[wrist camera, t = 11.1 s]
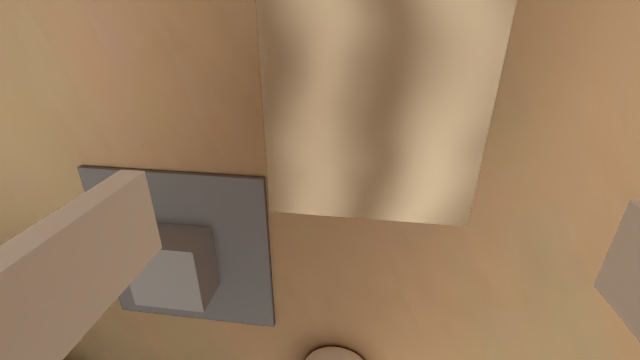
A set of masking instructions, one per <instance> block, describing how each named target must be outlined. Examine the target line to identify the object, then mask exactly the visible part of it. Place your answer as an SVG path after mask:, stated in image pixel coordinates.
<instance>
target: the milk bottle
mask: <svg viewBox="0 0 640 360" xmlns="http://www.w3.org/2000/svg"><path fill="white" fill-rule="evenodd" d="M306 360H363V359H362V358H361V357H360V356H359V355H357V354H356V353H354V352H352V351H350V350H348V349H345V348H341V347H323V348H320V349H317V350H315V351H313V352H312V353H311V354H309V356H308V357H307V358H306Z"/></svg>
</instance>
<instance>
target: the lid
mask: <svg viewBox="0 0 640 360" xmlns="http://www.w3.org/2000/svg"><path fill="white" fill-rule="evenodd" d="M255 3H256V17H257V32H258V47H259V62H260V77H261V92H262V107H263V122H264V137H265V152H266V167H267V181H268V196H269V211H270V212H282V213H295V214H309V215H322V216H335V217H349V218H362V219H375V220H389V221H402V222H415V223H429V224H442V225H455V226H468V223H469V218H470V213H471V209H472V204H473V200H474V195H475V190H476V186H477V181H478V177H479V172H480V168H481V163H482V158H483V154H484V149H485V145H486V140H487V136H488V131H489V126H490V122H491V117H492V113H493V108H494V104H495V99H496V94H497V90H498V85H499V81H500V76H501V72H502V67H503V62H504V58H505V53H506V49H507V44H508V39H509V35H510V30H511V26H512V21H513V17H514V12H515V7H516V3H517V0H255Z"/></svg>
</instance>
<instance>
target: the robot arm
mask: <svg viewBox="0 0 640 360" xmlns="http://www.w3.org/2000/svg"><path fill="white" fill-rule="evenodd" d="M161 248H162V245H161V240H160V236H159V231H158V227H157V223H156V218H155V214H154V209H153V205H152V200H151V196H150V192H149V187H148V183H147V178H146V174H145V171H136V170H119V171H118V172H116V173H115V174H113V175H111V176H110V177H108V178H107V179H105V180H103V181H102V182H100V183H99V184H97V185H95V186H94V187H92V188H91V189H89V190H87V191H86V192H84V193H83V194H81V195H80V196H78V197H76V198H75V199H73V200H72V201H70V202H68V203H67V204H65V205H64V206H62V207H60V208H59V209H57V210H56V211H54V212H52V213H51V214H49V215H48V216H46V217H45V218H43V219H41V220H40V221H38V222H37V223H35V224H33V225H32V226H30V227H29V228H27V229H25V230H24V231H22V232H21V233H19V234H17V235H16V236H14V237H13V238H11V239H10V240H8V241H6V242H5V243H3V244H2V245H0V360H63V359H64V358H65V357H66V356H67V354H68V353H69V352H70V351H71V350H72V349H73V348H74V347H75V345H76V344H77V343H78V342H79V341H80V340H81V339H82V338H83V336H84V335H85V334H86V333H87V332H88V331H89V330H90V329H91V327H92V326H93V325H94V324H95V323H96V322H97V321H98V320H99V318H100V317H101V316H102V315H103V314H104V313H105V312H106V310H107V309H108V308H109V307H110V306H111V305H112V304H113V303H114V301H115V300H116V299H117V298H118V297H119V296H120V295H121V294H122V292H123V291H124V290H125V289H126V288H127V287H128V286H129V285H130V283H131V282H132V281H133V280H134V279H135V278H136V277H137V276H138V274H139V273H140V272H141V271H142V270H143V269H144V268H145V267H146V265H147V264H148V263H149V262H150V261H151V260H152V259H153V258H154V256H155V255H156V254H157V253H158V252H159V251H160V250H161ZM594 286H595V288H596V289H597V290H598V291H599V292H600V294H601V295H602V296H603V297H604V299H605V300H606V301H607V302H608V304H609V305H610V306H611V307H612V308H613V310H614V311H615V312H616V313H617V315H618V316H619V317H620V318H621V319H622V321H623V322H624V323H625V324H626V326H627V327H628V328H629V329H630V331H631V332H632V333H633V334H634V335H635V337H636V338H637V339H638V340H639V342H640V201H632V200H630V201H629V204H628V206H627V208H626V211H625V213H624V215H623V218H622V220H621V222H620V225H619V227H618V229H617V232H616V234H615V236H614V238H613V241H612V243H611V245H610V248H609V250H608V252H607V255H606V257H605V259H604V262H603V264H602V266H601V269H600V271H599V273H598V276H597V278H596V280H595V282H594Z"/></svg>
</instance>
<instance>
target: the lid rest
mask: <svg viewBox="0 0 640 360" xmlns="http://www.w3.org/2000/svg"><path fill="white" fill-rule="evenodd" d="M77 168H78V171H79V174H80V178H81V181H82V184H83V187H84V190H85V192H86V191H87V190H89V189H91V188H92V187H94V186H95V185H97V184H99V183H100V182H102V181H103V180H105V179H107V178H108V177H110V176H111V175H113V174H115V173H116V172H118V171H119V170H136V171H145V174H146V178H147V183H148V187H149V192H150V196H151V200H152V205H153V209H154V214H155V218H156V223H157V227H158V231H159V236H160V240H161V245H162V248H161V250H160V251H159V252H158V253H157V254H156V255H155V256H154V258H153V259H152V260H151V261H150V262H149V263H148V264H147V265H146V267H145V268H144V269H143V270H142V271H141V272H140V273H139V274H138V276H137V277H136V278H135V279H134V280H133V281H132V282H131V283H130V285H129V286H128V287H127V288H126V289H125V290H124V291H123V292H122V294H121V295H120V296H119V300H120V303H121V306H122V309H123V310H130V311H139V312H147V313H156V314H165V315H173V316H182V317H191V318H199V319H208V320H217V321H225V322H234V323H243V324H251V325H260V326H269V327H274V325H275V316H274V302H273V288H272V273H271V259H270V245H269V231H268V217H267V202H266V188H265V177H256V176H240V175H224V174H208V173H192V172H176V171H160V170H145V169H129V168H113V167H97V166H79V167H77Z"/></svg>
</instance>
